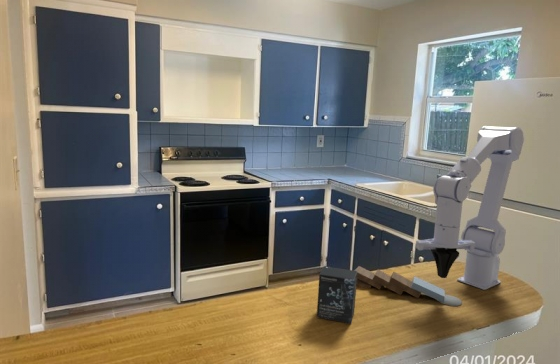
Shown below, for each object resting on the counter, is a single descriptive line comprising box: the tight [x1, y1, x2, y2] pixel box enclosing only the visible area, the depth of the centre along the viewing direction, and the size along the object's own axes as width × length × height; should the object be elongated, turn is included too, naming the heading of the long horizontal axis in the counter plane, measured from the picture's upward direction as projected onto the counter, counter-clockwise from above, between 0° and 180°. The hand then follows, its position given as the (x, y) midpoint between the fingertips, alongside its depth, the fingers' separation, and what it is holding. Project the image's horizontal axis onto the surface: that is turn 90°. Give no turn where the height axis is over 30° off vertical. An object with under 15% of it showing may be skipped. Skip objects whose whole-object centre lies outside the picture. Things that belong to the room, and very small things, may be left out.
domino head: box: [411, 276, 446, 302], centre depth 103 cm, size 2×4×8 cm
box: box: [316, 265, 357, 325], centre depth 91 cm, size 8×6×11 cm
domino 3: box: [372, 269, 404, 296], centre depth 107 cm, size 2×4×8 cm
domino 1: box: [354, 265, 384, 290], centre depth 110 cm, size 2×4×8 cm
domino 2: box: [356, 278, 373, 290], centre depth 111 cm, size 2×4×8 cm
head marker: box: [436, 294, 463, 307], centre depth 102 cm, size 6×6×1 cm
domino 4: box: [389, 271, 422, 299], centre depth 105 cm, size 2×4×8 cm
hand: (442, 276), depth 102 cm, fingers closed
